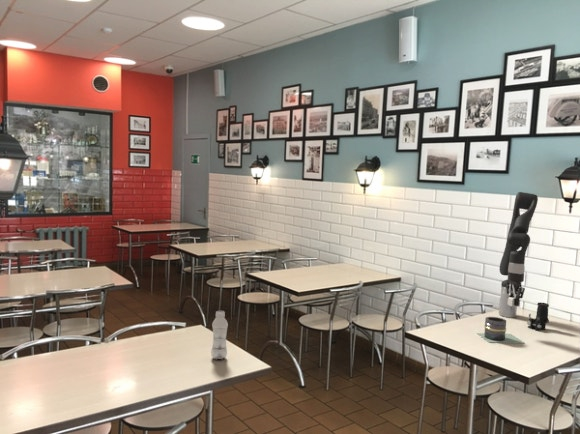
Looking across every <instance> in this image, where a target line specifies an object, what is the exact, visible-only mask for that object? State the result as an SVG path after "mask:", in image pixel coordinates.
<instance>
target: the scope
mask: <svg viewBox="0 0 580 434" xmlns="http://www.w3.org/2000/svg"><path fill="white" fill-rule="evenodd" d="M549 306H550V305H549V303H546V302H537V309H536V315H535V318H533V317H531V313H529V314H528V319H527V320H528V321H527V322H526V325H527V328H528V329H530V330H531V329H532V330H535V332H536V331H537V332H539V331H542V330H543V331H545V330H546V325H547V324H548V323H550V319H549Z"/></svg>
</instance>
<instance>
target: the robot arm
mask: <svg viewBox="0 0 580 434" xmlns="http://www.w3.org/2000/svg"><path fill="white" fill-rule="evenodd" d="M514 198H515V199H514V204H513V211H512V217H511V221H510V225H509V229H508V232H507V236H506V237H507V238H506V242H505V243H506V244H505V248H504V251H503V253H502V257H501V260H500V264H499V273H500V274H501V276H502V275H503V276H507V278H506V279H505V280H502V281H501V284H500V285H501V286H500V297H499V304H498V305H499V307H498V314H499V316H501V317H505V318H516V317H517V309H518V307H512V306H510V305H507V304H508V298H509V297H515V298H514V305H515V306H519V300H520V299H523V297H524V293H525V287H523V286H522V283H523V282H524V280H525V271H526V270H525V267H526V266H525V259H526V254H527V250H528V247H529V245H530V242H531V237H530V235H529V234H528V232H529V230H530V229H529V228H530V224H531V221H532V218H533V217H534V214H535V211H536V208H537V205H538V200H539V197H538V195H537V194H534V193H529V192H522V191H519V192H517V194H516V195H515V197H514ZM520 210H525V212H523V213H522V214H521V211H520Z"/></svg>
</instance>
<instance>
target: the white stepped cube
mask: <svg viewBox="0 0 580 434" xmlns="http://www.w3.org/2000/svg"><path fill="white" fill-rule="evenodd" d="M514 298H515V297H509V298H508V304H507V305H510V306H512V307H517V308H518V307H519V308H520V307H521V306H520V305H521V300H520V299H519V306H515V305H514Z"/></svg>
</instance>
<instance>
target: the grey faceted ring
mask: <svg viewBox="0 0 580 434" xmlns="http://www.w3.org/2000/svg"><path fill="white" fill-rule="evenodd" d="M506 331H507V319H505V318H500V317H497V316H487V317H485V321H484V332H483V333H484V337H485V338H487V339H490V340H494V341H504V340H505V334H506V333H507V332H506Z"/></svg>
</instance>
